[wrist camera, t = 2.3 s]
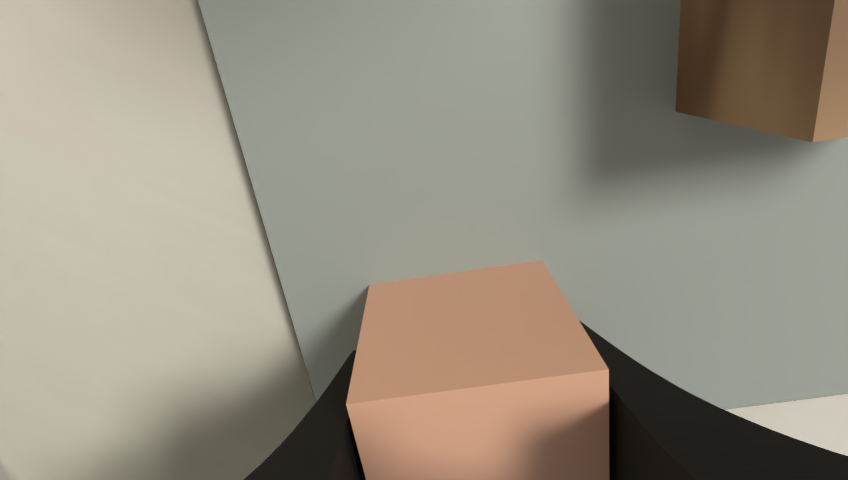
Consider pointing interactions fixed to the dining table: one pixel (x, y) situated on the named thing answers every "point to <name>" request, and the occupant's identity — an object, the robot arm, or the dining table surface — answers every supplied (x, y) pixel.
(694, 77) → the walnut block
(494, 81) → the slate board
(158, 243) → the dining table surface
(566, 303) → the terracotta cube
